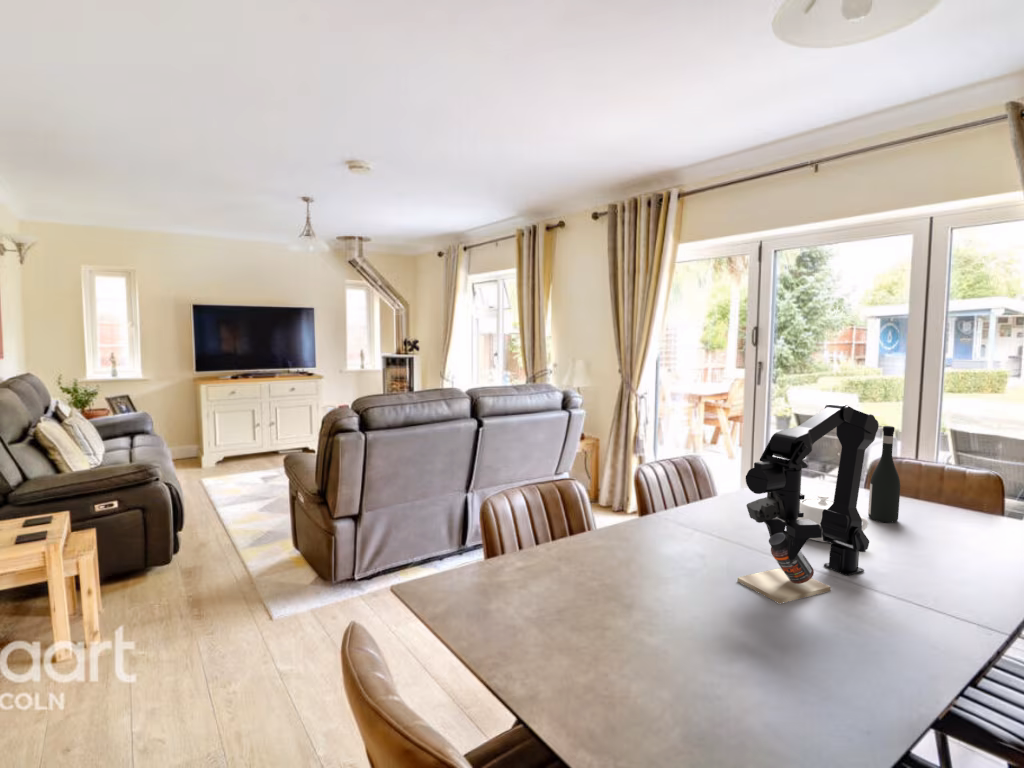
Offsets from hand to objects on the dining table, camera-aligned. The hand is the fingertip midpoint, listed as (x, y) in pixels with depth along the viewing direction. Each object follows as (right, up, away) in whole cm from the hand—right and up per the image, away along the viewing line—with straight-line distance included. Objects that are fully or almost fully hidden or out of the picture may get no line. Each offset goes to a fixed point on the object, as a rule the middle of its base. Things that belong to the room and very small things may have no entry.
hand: (783, 554), depth 128 cm
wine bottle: (+56, -4, +49) cm, 74 cm away
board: (+1, -8, +2) cm, 8 cm away
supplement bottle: (+5, -5, +1) cm, 7 cm away
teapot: (+27, -5, +34) cm, 44 cm away
